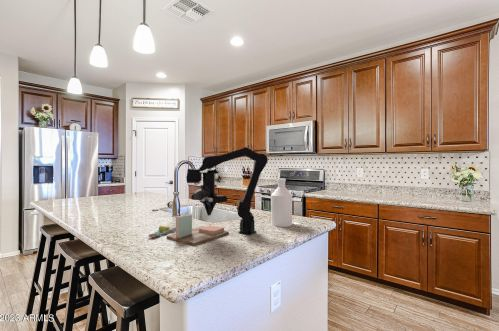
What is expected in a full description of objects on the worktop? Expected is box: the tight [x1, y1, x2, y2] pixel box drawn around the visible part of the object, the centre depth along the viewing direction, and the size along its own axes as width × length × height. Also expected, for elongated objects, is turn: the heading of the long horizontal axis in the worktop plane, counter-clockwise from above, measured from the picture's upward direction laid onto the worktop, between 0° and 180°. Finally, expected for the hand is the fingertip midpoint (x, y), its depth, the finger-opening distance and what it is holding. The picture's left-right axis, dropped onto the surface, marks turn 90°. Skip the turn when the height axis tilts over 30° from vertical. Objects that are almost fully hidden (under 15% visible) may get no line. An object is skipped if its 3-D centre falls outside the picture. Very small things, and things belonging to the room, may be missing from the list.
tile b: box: [175, 213, 193, 238], centre depth 121 cm, size 2×8×9 cm, turn 144°
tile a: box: [199, 225, 225, 235], centre depth 128 cm, size 2×8×9 cm
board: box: [166, 226, 230, 246], centre depth 124 cm, size 18×22×1 cm
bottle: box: [270, 178, 293, 228], centre depth 147 cm, size 12×12×25 cm
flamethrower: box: [148, 225, 176, 239], centre depth 134 cm, size 29×3×10 cm
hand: (209, 215), depth 129 cm, fingers closed
